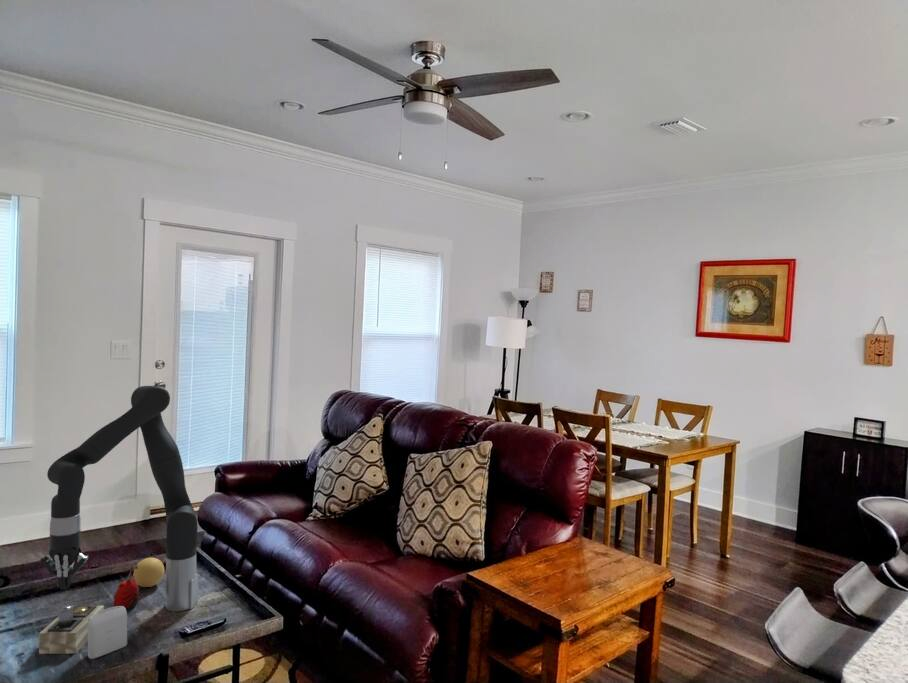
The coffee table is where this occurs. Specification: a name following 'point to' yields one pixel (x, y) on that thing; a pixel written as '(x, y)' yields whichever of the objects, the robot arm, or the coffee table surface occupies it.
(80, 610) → the peg brass
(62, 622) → the peg steel
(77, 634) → the birch block
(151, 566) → the stress ball
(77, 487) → the robot arm
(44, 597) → the coffee table surface
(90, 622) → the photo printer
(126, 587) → the red clay folk toy
